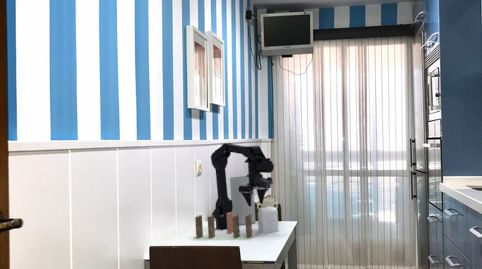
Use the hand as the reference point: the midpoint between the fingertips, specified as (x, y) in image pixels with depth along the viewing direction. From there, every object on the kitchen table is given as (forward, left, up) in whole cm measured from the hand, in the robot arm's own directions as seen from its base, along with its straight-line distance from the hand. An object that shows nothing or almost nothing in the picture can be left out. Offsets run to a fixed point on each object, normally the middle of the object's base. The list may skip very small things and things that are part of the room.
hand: (255, 205), depth 241 cm
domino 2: (-12, -18, -13) cm, 26 cm away
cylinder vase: (-28, +20, -14) cm, 37 cm away
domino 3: (-2, -12, -13) cm, 18 cm away
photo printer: (+3, +5, -14) cm, 15 cm away
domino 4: (+3, -9, -13) cm, 16 cm away
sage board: (-7, -15, -14) cm, 22 cm away
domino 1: (-18, -21, -13) cm, 30 cm away
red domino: (-13, -5, -14) cm, 20 cm away
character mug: (-13, +23, -14) cm, 30 cm away
